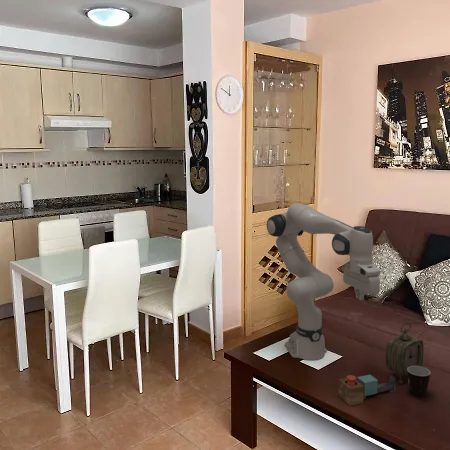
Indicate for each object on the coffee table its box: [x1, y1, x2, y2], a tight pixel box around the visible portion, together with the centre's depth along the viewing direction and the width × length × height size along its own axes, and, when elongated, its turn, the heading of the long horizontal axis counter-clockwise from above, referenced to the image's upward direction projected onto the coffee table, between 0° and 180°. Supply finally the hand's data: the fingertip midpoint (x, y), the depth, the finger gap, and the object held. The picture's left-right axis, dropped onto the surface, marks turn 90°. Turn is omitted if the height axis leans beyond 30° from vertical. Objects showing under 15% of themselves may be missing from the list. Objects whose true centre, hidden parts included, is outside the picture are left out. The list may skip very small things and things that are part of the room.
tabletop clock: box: [385, 322, 424, 384], centre depth 199 cm, size 14×9×25 cm, turn 123°
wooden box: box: [338, 377, 364, 407], centre depth 184 cm, size 8×6×7 cm
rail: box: [363, 374, 397, 400], centre depth 188 cm, size 4×17×6 cm, turn 109°
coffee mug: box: [407, 366, 431, 399], centre depth 185 cm, size 12×9×10 cm
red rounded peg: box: [346, 374, 357, 386], centre depth 183 cm, size 4×4×6 cm
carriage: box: [356, 374, 379, 397], centre depth 186 cm, size 5×6×6 cm
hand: (359, 299), depth 191 cm, fingers closed
